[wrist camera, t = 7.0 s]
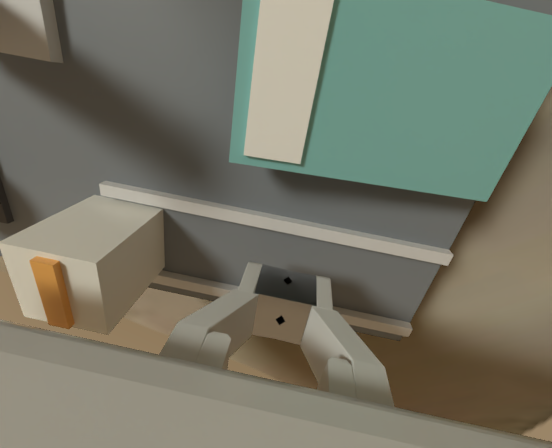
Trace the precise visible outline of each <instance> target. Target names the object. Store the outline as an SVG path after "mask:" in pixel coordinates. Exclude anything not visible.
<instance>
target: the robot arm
mask: <svg viewBox="0 0 552 448" xmlns="http://www.w3.org/2000/svg"><path fill="white" fill-rule="evenodd" d="M252 335H257V336H262V337H267V338H273V339H277V340H282V341H286V342H290V343H294V344H298V345H300V347H301V349H302V351H303V353H304V355H305V358H306V360H307V362H308V364H309V366H310V368H311V370H312V372H313V374H314V376H315V378H316V380H317V382H318V387H317V389H311V388H307V387H302V386H298V385H293V384H289V383H284V382H280V381H275V380H271V379H266V378H261V377H257V376H253V375H248V374H243V373H239V372H234V371H230V370H227V368H228V360H229V357H230V356H231V355H232V354H233V353H234V352H236V351H237V350H238V349H239V348H240V347H241V346H242V345H243V344H244V343H245V342H246V341H247V340H248V339H249V338H250V337H251V336H252ZM0 448H552V442H550V441H545V440H541V439H536V438H532V437H527V436H523V435H518V434H514V433H509V432H505V431H500V430H496V429H491V428H487V427H482V426H478V425H473V424H469V423H464V422H460V421H455V420H451V419H446V418H442V417H437V416H433V415H428V414H424V413H419V412H415V411H410V410H406V409H401V408H397V407H395V406H394V402H393V398H392V394H391V390H390V386H389V382H388V378H387V374H386V370H385V367H384V366H383V365H382V363H381V362H380V361H379V360H378V359H377V357H376V356H375V355H374V354H373V353H372V352H371V350H370V349H369V348H368V347H367V346H366V344H365V343H364V342H363V341H362V340H361V338H360V337H359V336H358V335H357V334H356V333H355V331H354V330H353V329H352V328H351V327H350V325H349V324H348V323H347V322H346V321H345V319H344V318H343V317H342V316H341V315H340V313H339V312H338V311H335V310H333V301H332V289H331V279H330V278H328V277H323V276H317V275H316V276H314V275H309V274H304V273H300V272H295V271H290V270H286V269H282V268H278V267H273V266H269V265H265V264H263V265H262V264H260V263H255V262H250V261H249V262H248V264H247V267H246V269H245V272H244V275H243V277H242V280H241V283H240V285H239V288H238V290H236V289H233V290H232V291H230V292H228V293H226V294H225V295H223V296H221V297H220V298H218V299H216V300H215V301H213V302H211V303H209V304H208V305H206V306H204V307H203V308H201V309H199V310H198V311H196V312H194V313H192V314H191V315H189V316H187V317H186V318H184V319H182V320H181V321H179V322H178V323H177V324H176V326H175V328H174V330H173V331H172V333H171V335H170V337H169V338H168V340H167V342H166V344H165V345H164V347H163V349H162V351H161V352H160V354H159V355H158V354H153V353H149V352H144V351H140V350H135V349H131V348H127V347H122V346H118V345H113V344H108V343H104V342H99V341H95V340H90V339H86V338H81V337H77V336H72V335H68V334H63V333H59V332H54V331H50V330H45V329H41V328H36V327H32V326H27V325H23V324H18V323H13V322H9V321H4V320H0Z"/></svg>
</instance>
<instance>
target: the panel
mask: <svg viewBox="0 0 552 448" xmlns="http://www.w3.org/2000/svg"><path fill="white" fill-rule="evenodd" d="M486 1H491V2H495V3H500V4H504V5H509V6H513V7H517V8H522V9H526V10H531V11H535V12H540V13H544V14H548V15H552V0H486ZM241 12H242V0H0V241H2V240H4V239H6V238H8V237H10V236H12V235H14V234H16V233H18V232H20V231H22V230H24V229H26V228H28V227H30V226H32V225H34V224H36V223H38V222H40V221H42V220H44V219H46V218H48V217H50V216H52V215H54V214H56V213H59V212H61V211H63V210H65V209H67V208H69V207H71V206H73V205H75V204H77V203H79V202H81V201H83V200H85V199H87V198H89V197H91V196H93V195H98V196H103V197H108V198H112V199H117V200H122V201H127V202H132V203H137V204H142V205H147V206H152V207H157V208H162V209H163V221H164V256H165V267H164V268H163V269H162V271H161V272H160V273H159V274H158V275H157V277H156V278H155V279H154V280H153V281H152V283H151V284H150V285H149V286H148V287H149V288H154V289H158V290H163V291H168V292H172V293H177V294H182V295H186V296H191V297H196V298H200V299H205V300H210V301H215V300H216V299H218V298H220V297H221V296H223V295H225V294H226V293H228V292H230V291H232V290H233V289H236V290H238V288H239V285H240V283H241V280H242V277H243V275H244V272H245V269H246V267H247V264H248V262H249V261H250V262H255V263H260V264H262V265H263V264H265V265H269V266H273V267H278V268H282V269H286V270H290V271H295V272H300V273H304V274H309V275H314V276H316V275H317V276H323V277H328V278H330V279H331V289H332V301H333V310H335V311H338V312H339V313H340V315H341V316H342V317H343V318H344V319H345V321H346V322H347V323H348V324H349V325H350V327H351V328H352V329H353V330H354V331H355V332H360V333H364V334H369V335H374V336H378V337H383V338H388V339H392V340H397V341H400V340H401V338H402V336H406V337H409V335H410V333H411V332H412V330H413V329H412V326H411V324H410V321H411V320H412V318H413V316H414V314H415V312H416V310H417V308H418V307H419V305H420V303H421V301H422V299H423V297H424V295H425V294H426V292H427V290H428V288H429V286H430V284H431V282H432V281H433V279H434V277H435V275H436V273H437V271H438V269H439V268H440V266H441V265H446V266H448V265H449V263H450V261H451V259H452V258H453V256H454V255H453V254H452V253H451V251H450V250H449V249H450V247H451V245H452V243H453V242H454V240H455V238H456V236H457V234H458V232H459V230H460V229H461V227H462V225H463V223H464V221H465V219H466V217H467V216H468V214H469V212H470V210H471V208H472V206H473V204H474V203H475V201H476V200H471V199H464V198H458V197H451V196H445V195H438V194H432V193H425V192H419V191H413V190H406V189H400V188H393V187H387V186H380V185H374V184H367V183H361V182H354V181H348V180H341V179H335V178H328V177H322V176H315V175H309V174H302V173H296V172H289V171H283V170H276V169H270V168H263V167H257V166H251V165H244V164H238V163H231V162H229V154H230V143H231V131H232V119H233V107H234V95H235V83H236V72H237V60H238V48H239V36H240V24H241ZM0 256H2V253H1V250H0Z"/></svg>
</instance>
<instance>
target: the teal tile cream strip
mask: <svg viewBox="0 0 552 448" xmlns="http://www.w3.org/2000/svg"><path fill="white" fill-rule="evenodd" d="M551 86H552V15H548V14H544V13H540V12H535V11H531V10H526V9H522V8H517V7H513V6H509V5H504V4H500V3H495V2H491V1H486V0H242V12H241V24H240V36H239V48H238V60H237V72H236V83H235V95H234V107H233V119H232V131H231V143H230V154H229V162H231V163H238V164H244V165H251V166H257V167H263V168H270V169H276V170H283V171H289V172H296V173H302V174H309V175H315V176H322V177H328V178H335V179H341V180H348V181H354V182H361V183H367V184H374V185H380V186H387V187H393V188H400V189H406V190H413V191H419V192H425V193H432V194H438V195H445V196H451V197H458V198H464V199H471V200H477V201H484V202H487V201H488V199H489V197H490V195H491V194H492V192H493V190H494V188H495V186H496V185H497V183H498V181H499V179H500V177H501V176H502V174H503V172H504V170H505V169H506V167H507V165H508V163H509V161H510V160H511V158H512V156H513V154H514V152H515V151H516V149H517V147H518V145H519V144H520V142H521V140H522V138H523V136H524V135H525V133H526V131H527V129H528V127H529V126H530V124H531V122H532V120H533V119H534V117H535V115H536V113H537V111H538V110H539V108H540V106H541V104H542V103H543V101H544V99H545V97H546V95H547V94H548V92H549V90H550V88H551Z"/></svg>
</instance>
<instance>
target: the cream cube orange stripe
mask: <svg viewBox="0 0 552 448" xmlns="http://www.w3.org/2000/svg"><path fill="white" fill-rule="evenodd" d="M0 250H1V253H2V256H3V259H4V261H5V264H6V267H7V270H8V273H9V275H10V278H11V281H12V284H13V287H14V289H15V292H16V295H17V298H18V300H19V304H20V306H21V309H22V312H23V315H24V316H25V317H29V318H33V319H38V320H42V321H47V322H48V324H49V325H52V326H57V327H61V328H66V329H70V328H71V327H74V328H79V329H84V330H88V331H93V332H97V333H101V334H106V335H109V333H110V332H111V331H112V330H113V329H114V327H115V326H116V325H117V324H118V323H119V321H120V320H121V319H122V318H123V317H124V315H125V314H126V313H127V312H128V310H129V309H130V308H131V307H132V306H133V304H134V303H135V302H136V301H137V300H138V298H139V297H140V296H141V295H142V294H143V292H144V291H145V290H146V289H147V287H148V286H149V285H150V284H151V283H152V281H153V280H154V279H155V278H156V277H157V275H158V274H159V273H160V272H161V271H162V269H163V268H164V267H165V256H164V221H163V209H162V208H157V207H152V206H147V205H142V204H137V203H132V202H127V201H122V200H117V199H112V198H108V197H103V196H98V195H93V196H91V197H89V198H87V199H85V200H83V201H81V202H79V203H77V204H75V205H73V206H71V207H69V208H67V209H65V210H63V211H61V212H59V213H56V214H54V215H52V216H50V217H48V218H46V219H44V220H42V221H40V222H38V223H36V224H34V225H32V226H30V227H28V228H26V229H24V230H22V231H20V232H18V233H16V234H14V235H12V236H10V237H8V238H6V239H4V240H2V241H0Z"/></svg>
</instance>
